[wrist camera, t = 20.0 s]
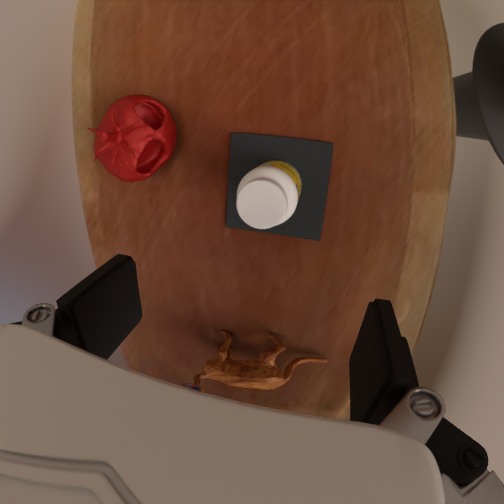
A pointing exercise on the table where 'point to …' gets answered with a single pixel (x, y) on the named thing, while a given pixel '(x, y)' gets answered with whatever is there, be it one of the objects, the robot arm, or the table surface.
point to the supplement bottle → (268, 194)
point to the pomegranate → (135, 138)
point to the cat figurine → (248, 368)
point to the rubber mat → (307, 165)
